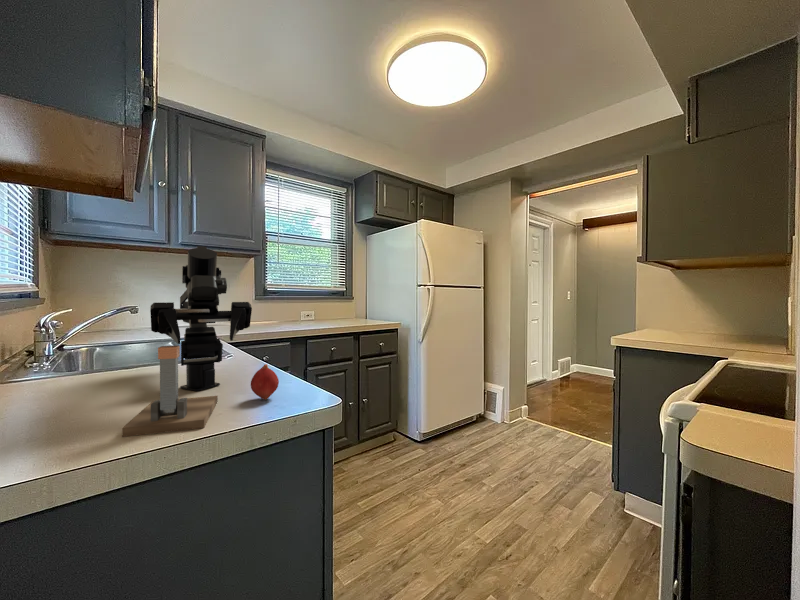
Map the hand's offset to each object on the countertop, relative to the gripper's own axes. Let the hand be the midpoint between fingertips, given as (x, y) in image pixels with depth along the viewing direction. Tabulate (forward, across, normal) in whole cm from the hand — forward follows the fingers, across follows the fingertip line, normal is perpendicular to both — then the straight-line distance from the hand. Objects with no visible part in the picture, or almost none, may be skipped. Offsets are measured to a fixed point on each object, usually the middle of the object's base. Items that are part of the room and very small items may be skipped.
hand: (206, 340), depth 69 cm
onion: (+6, +12, +14) cm, 19 cm away
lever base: (+8, -5, +12) cm, 15 cm away
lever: (+10, -6, +7) cm, 14 cm away
